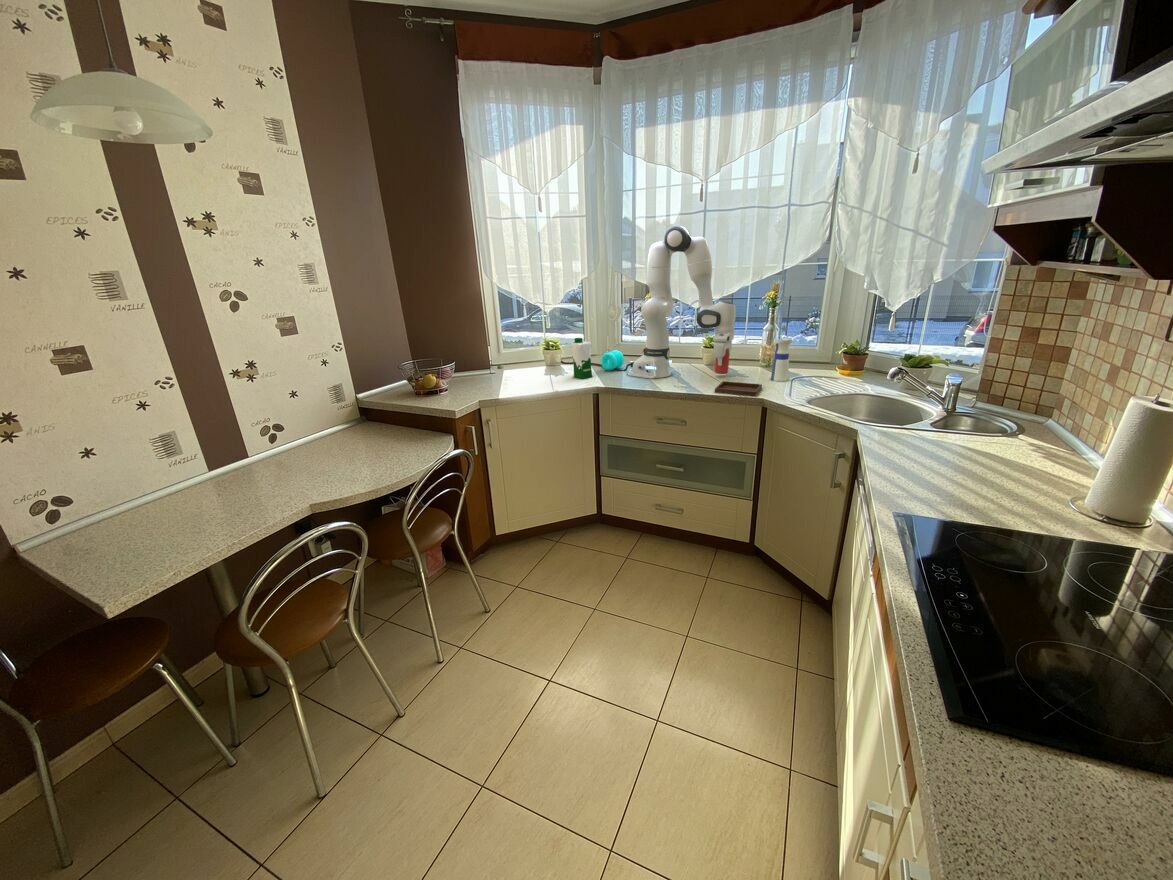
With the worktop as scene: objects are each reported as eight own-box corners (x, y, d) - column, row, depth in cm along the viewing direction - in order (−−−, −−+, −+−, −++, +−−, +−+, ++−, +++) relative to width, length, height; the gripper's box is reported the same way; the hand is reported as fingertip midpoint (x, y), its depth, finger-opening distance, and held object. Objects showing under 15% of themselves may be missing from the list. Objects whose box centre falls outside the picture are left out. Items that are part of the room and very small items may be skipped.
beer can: (728, 374, 235) (730, 350, 230) (714, 374, 236) (716, 350, 231) (727, 371, 240) (729, 347, 236) (714, 370, 242) (715, 347, 237)
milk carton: (583, 374, 257) (581, 336, 249) (595, 376, 250) (593, 338, 243) (571, 377, 251) (569, 339, 244) (582, 379, 245) (580, 340, 238)
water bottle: (766, 377, 232) (771, 325, 223) (783, 376, 233) (788, 324, 224) (774, 382, 224) (779, 328, 215) (791, 380, 225) (797, 327, 216)
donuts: (625, 368, 265) (625, 350, 261) (615, 372, 258) (614, 353, 254) (610, 366, 271) (610, 348, 267) (600, 370, 264) (599, 352, 260)
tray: (714, 392, 212) (714, 388, 212) (722, 385, 223) (722, 381, 223) (755, 396, 204) (755, 392, 203) (761, 388, 215) (762, 384, 214)
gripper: (723, 331, 241) (721, 358, 246) (712, 338, 224) (710, 367, 230) (736, 332, 238) (733, 359, 243) (725, 339, 222) (723, 368, 227)
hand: (722, 363), depth 236 cm, fingers closed on beer can, 6 cm apart
